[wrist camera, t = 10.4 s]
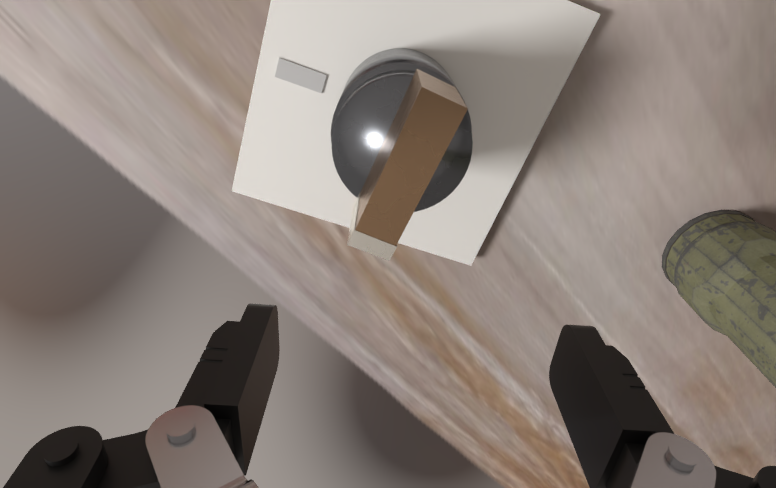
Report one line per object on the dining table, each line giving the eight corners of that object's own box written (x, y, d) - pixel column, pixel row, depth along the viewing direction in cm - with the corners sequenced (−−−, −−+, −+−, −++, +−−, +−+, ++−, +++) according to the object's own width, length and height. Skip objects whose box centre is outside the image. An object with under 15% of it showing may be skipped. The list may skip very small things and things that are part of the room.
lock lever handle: (367, 40, 27) (361, 58, 21) (495, 101, 29) (523, 134, 23) (314, 176, 31) (295, 224, 25) (428, 223, 33) (436, 279, 27)
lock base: (592, 12, 35) (649, 22, 27) (468, 257, 45) (484, 314, 37) (299, -112, 31) (269, -140, 24) (236, 184, 41) (202, 230, 34)
